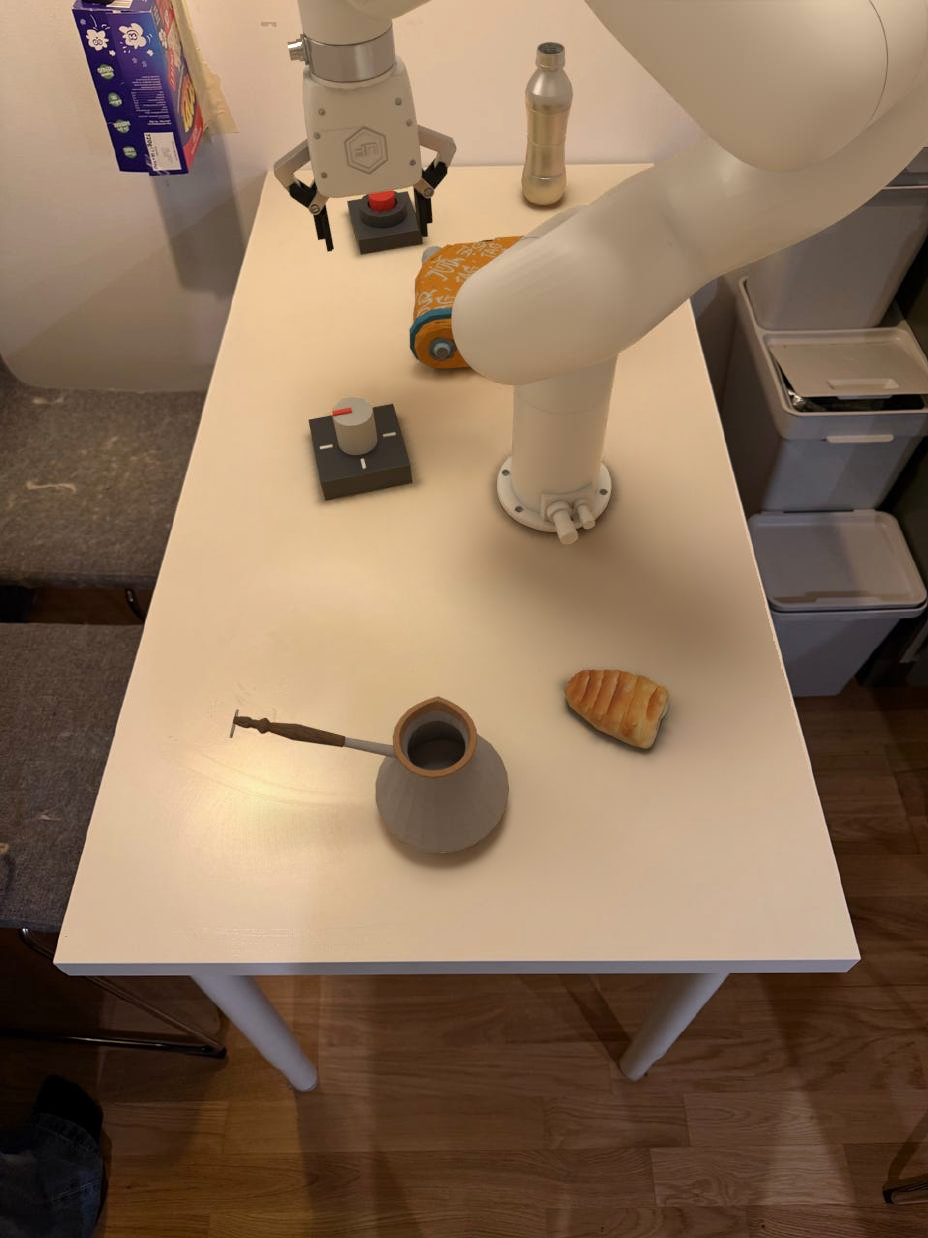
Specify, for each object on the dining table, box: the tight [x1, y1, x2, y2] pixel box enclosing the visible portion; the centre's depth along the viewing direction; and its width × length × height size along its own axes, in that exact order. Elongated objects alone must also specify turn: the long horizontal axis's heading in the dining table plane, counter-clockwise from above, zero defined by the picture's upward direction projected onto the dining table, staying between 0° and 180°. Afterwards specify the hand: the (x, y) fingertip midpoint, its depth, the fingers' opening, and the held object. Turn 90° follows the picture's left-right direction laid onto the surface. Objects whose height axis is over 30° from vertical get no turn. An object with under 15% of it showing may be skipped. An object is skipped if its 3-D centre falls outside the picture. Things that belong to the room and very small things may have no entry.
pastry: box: [564, 668, 671, 750], centre depth 77 cm, size 9×7×4 cm
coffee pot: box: [229, 696, 510, 854], centre depth 68 cm, size 21×12×15 cm, turn 87°
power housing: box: [346, 190, 424, 255], centre depth 120 cm, size 10×9×4 cm
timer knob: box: [331, 396, 378, 455], centre depth 92 cm, size 4×4×5 cm
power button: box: [368, 190, 395, 212], centre depth 118 cm, size 4×4×2 cm
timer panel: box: [307, 403, 413, 501], centre depth 95 cm, size 10×10×3 cm
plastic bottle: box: [520, 41, 574, 206], centre depth 116 cm, size 6×7×20 cm
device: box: [409, 235, 525, 369], centre depth 106 cm, size 23×8×30 cm
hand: (375, 236), depth 86 cm, fingers open, 9 cm apart
